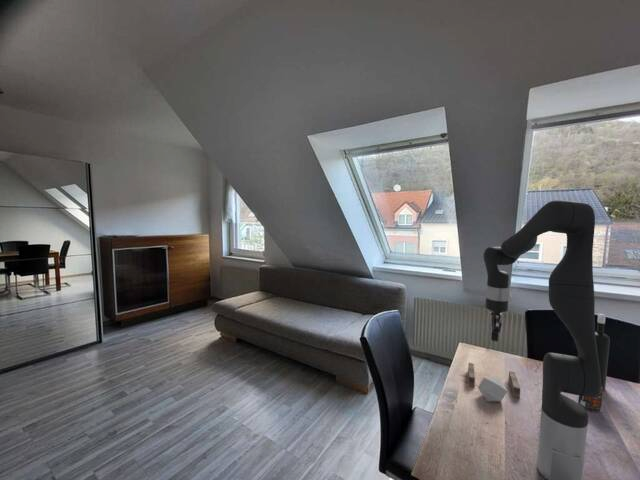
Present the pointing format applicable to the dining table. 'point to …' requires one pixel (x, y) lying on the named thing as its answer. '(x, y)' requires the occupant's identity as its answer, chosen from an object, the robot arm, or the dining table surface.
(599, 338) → the wine bottle
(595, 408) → the supplement bottle
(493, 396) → the die
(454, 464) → the dining table surface
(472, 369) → the pair of wooden rails
